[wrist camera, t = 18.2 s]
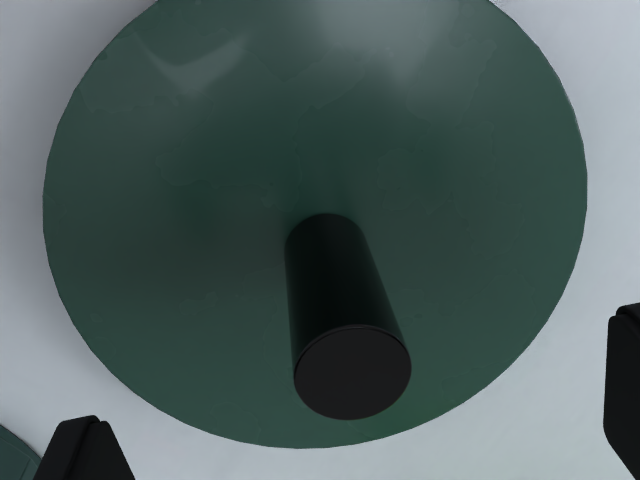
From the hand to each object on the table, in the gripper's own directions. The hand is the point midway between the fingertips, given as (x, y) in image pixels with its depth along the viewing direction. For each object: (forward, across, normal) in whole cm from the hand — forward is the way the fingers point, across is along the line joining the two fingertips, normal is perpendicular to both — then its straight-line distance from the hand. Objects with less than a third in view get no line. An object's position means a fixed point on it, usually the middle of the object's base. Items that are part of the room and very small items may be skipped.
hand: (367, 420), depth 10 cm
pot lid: (+7, 0, 0) cm, 7 cm away
